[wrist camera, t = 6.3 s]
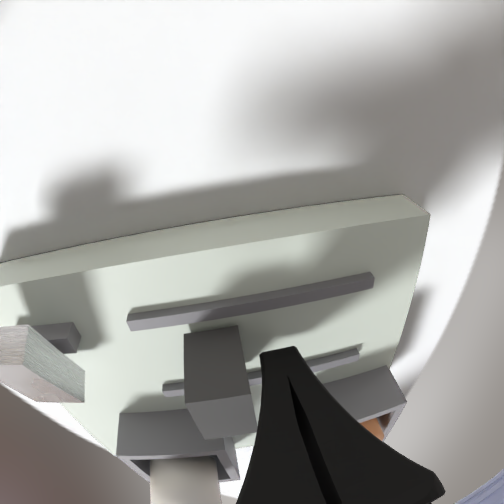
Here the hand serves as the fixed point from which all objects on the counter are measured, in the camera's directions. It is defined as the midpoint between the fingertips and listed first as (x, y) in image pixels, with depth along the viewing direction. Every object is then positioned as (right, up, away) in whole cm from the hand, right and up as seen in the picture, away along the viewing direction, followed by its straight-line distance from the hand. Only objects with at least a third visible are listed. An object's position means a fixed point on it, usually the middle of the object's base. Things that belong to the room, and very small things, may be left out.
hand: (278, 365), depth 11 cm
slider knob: (-2, 0, +1) cm, 2 cm away
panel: (-3, -1, +4) cm, 5 cm away
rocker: (-9, 0, -2) cm, 9 cm away
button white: (-5, -7, +3) cm, 9 cm away
